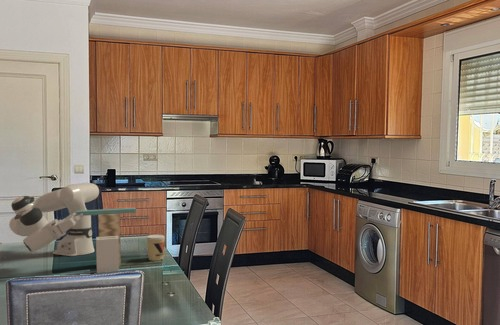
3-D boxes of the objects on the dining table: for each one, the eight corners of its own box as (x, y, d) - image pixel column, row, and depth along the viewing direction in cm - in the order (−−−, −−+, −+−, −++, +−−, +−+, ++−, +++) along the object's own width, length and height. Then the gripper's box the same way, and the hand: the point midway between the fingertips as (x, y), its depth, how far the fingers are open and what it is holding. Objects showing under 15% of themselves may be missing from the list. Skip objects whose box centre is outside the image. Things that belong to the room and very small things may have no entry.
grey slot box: (96, 273, 210) (96, 240, 209) (97, 270, 217) (96, 237, 216) (119, 271, 213) (118, 238, 212) (118, 268, 220) (118, 235, 219)
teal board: (76, 215, 218) (76, 211, 218) (77, 214, 222) (77, 210, 222) (136, 212, 226) (135, 208, 226) (135, 211, 231) (135, 207, 231)
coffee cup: (156, 261, 231) (155, 238, 231) (143, 259, 236) (142, 236, 236) (168, 258, 239) (168, 235, 238) (155, 255, 244) (155, 233, 243)
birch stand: (99, 268, 220) (98, 215, 219) (99, 264, 228) (98, 213, 227) (120, 266, 223) (119, 214, 222) (120, 262, 231) (119, 211, 230)
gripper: (63, 230, 228) (88, 215, 231) (59, 237, 209) (86, 221, 212) (56, 219, 227) (81, 204, 230) (51, 226, 207) (78, 210, 211)
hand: (83, 212), depth 221 cm, fingers open, 8 cm apart
